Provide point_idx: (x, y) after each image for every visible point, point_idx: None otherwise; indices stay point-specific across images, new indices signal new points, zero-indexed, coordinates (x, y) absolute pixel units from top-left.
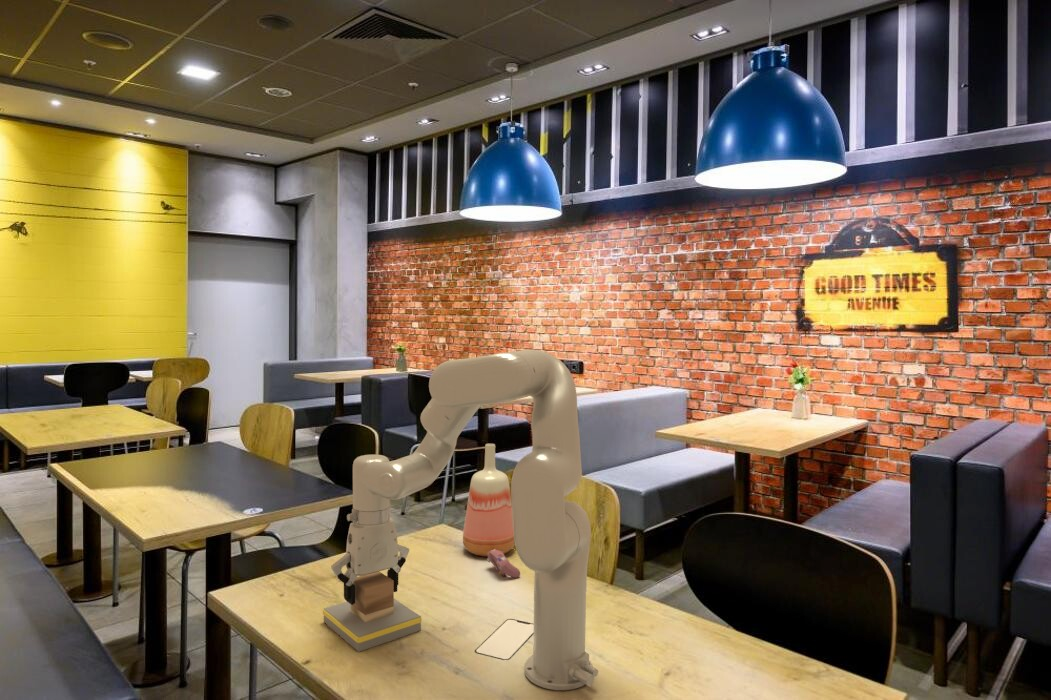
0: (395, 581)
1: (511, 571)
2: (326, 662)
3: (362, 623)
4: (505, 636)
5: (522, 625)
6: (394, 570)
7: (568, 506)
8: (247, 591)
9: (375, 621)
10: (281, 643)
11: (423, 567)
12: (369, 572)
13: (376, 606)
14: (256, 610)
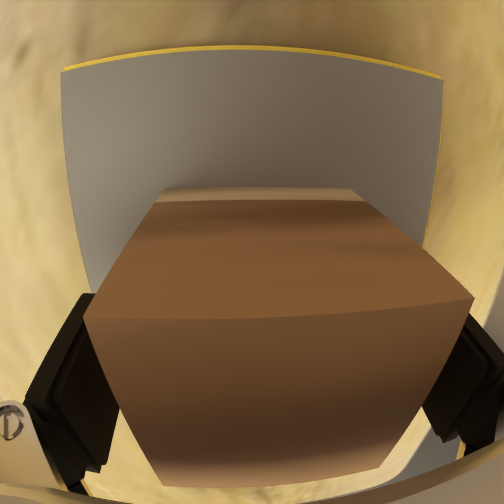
0: (67, 345)
1: None
2: (493, 111)
3: (365, 186)
4: None
5: None
6: (41, 439)
7: None
8: (359, 481)
9: (302, 159)
10: (488, 295)
11: None
12: (494, 465)
13: (293, 212)
14: (403, 437)
